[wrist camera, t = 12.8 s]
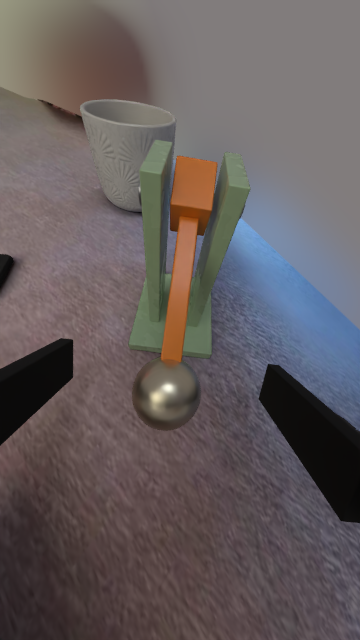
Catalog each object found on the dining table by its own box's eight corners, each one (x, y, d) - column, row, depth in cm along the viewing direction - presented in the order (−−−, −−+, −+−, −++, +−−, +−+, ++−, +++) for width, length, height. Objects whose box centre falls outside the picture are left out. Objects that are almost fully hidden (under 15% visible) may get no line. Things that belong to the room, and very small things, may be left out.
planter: (184, 207, 34) (195, 122, 24) (127, 227, 28) (113, 129, 19) (145, 180, 38) (141, 99, 28) (88, 193, 32) (62, 99, 23)
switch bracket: (208, 358, 18) (301, 229, 7) (129, 349, 18) (77, 193, 6) (208, 286, 24) (259, 143, 12) (148, 277, 23) (138, 121, 12)
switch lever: (191, 414, 11) (202, 451, 8) (134, 408, 11) (117, 443, 7) (216, 204, 13) (234, 152, 9) (165, 196, 12) (163, 139, 9)
